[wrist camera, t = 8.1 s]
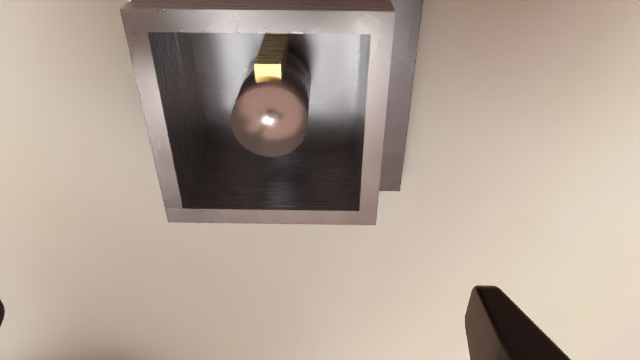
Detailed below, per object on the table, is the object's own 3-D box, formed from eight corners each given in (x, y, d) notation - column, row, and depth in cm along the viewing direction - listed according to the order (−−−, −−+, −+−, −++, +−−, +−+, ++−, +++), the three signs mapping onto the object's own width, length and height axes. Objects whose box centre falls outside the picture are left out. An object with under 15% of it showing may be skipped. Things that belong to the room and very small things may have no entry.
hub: (367, 163, 20) (375, 225, 16) (195, 161, 20) (168, 222, 17) (381, -22, 16) (395, 11, 12) (163, -24, 16) (119, 8, 12)
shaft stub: (397, 177, 21) (411, 245, 18) (174, 175, 21) (142, 242, 18) (426, -74, 16) (456, -51, 12) (124, -75, 16) (61, -54, 12)
